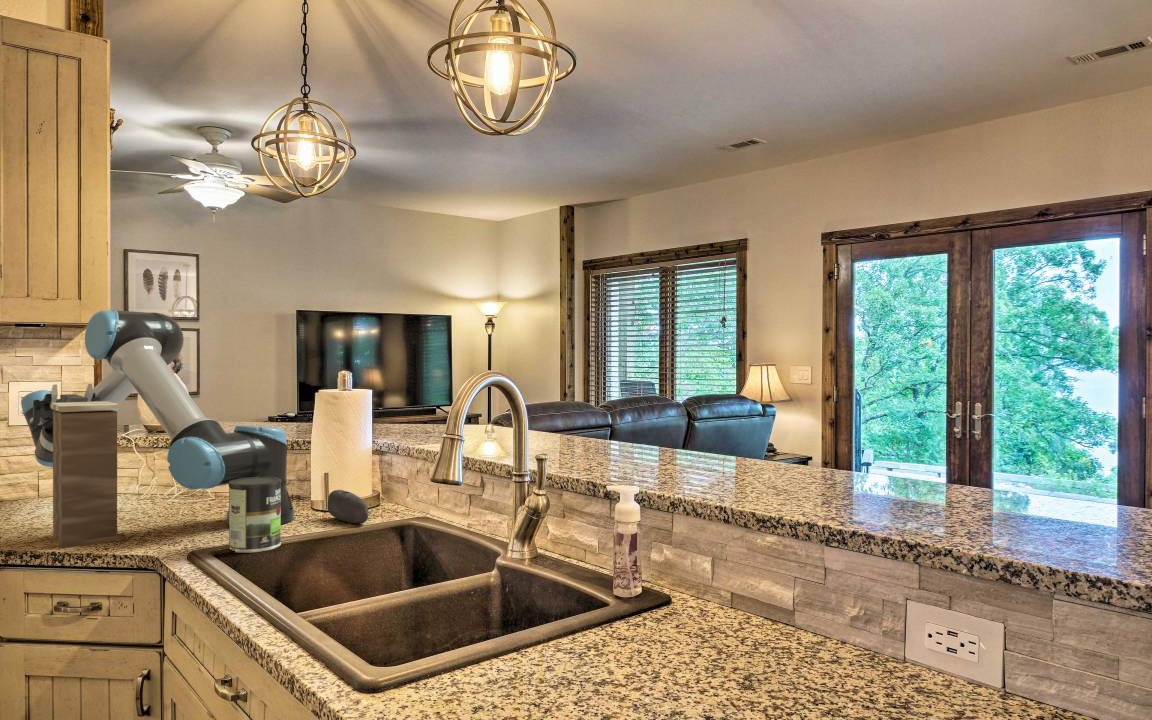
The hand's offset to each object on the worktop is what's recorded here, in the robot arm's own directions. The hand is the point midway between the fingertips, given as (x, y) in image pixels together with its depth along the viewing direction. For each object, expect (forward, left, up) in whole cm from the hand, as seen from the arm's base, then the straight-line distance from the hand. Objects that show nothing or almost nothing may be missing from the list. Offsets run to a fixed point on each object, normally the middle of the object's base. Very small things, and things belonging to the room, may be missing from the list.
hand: (73, 389), depth 175 cm
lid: (-6, +2, -4) cm, 8 cm away
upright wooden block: (-14, +4, -32) cm, 35 cm away
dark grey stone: (-48, -40, -32) cm, 70 cm away
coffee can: (-50, -13, -32) cm, 61 cm away
